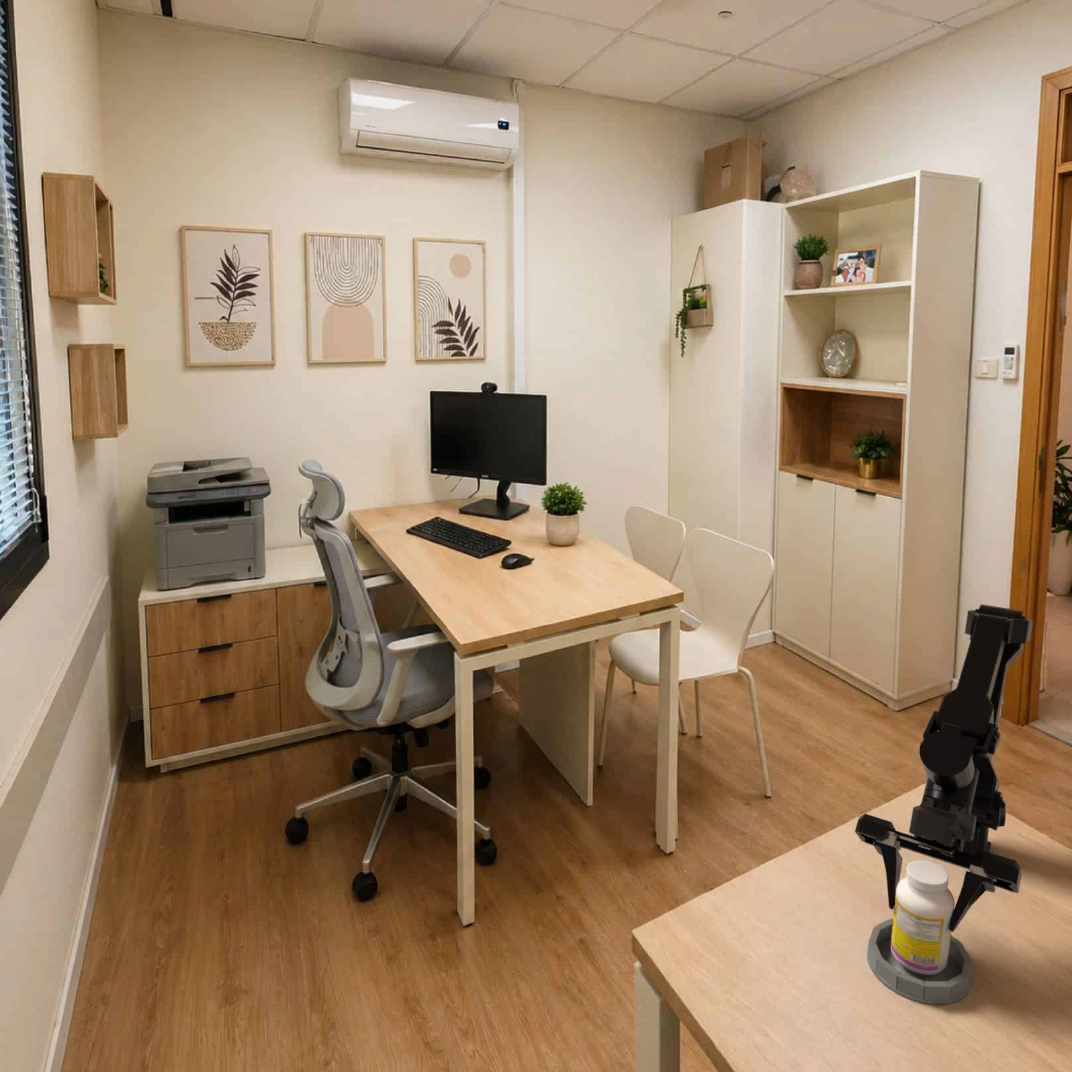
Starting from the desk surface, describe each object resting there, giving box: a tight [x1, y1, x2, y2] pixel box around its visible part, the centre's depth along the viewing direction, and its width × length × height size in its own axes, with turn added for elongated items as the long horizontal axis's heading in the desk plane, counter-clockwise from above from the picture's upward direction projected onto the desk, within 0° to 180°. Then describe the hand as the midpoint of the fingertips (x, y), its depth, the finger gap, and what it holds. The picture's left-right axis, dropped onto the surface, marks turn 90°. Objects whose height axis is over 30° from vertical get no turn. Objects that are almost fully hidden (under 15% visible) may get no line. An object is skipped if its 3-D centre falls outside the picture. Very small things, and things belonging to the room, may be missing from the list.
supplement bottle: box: [891, 859, 956, 975], centre depth 103 cm, size 7×7×13 cm
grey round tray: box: [866, 918, 973, 1006], centre depth 104 cm, size 12×12×2 cm
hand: (920, 919), depth 102 cm, fingers closed on supplement bottle, 7 cm apart
